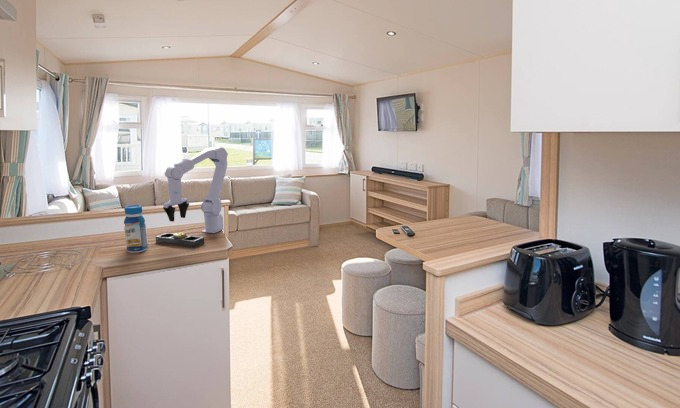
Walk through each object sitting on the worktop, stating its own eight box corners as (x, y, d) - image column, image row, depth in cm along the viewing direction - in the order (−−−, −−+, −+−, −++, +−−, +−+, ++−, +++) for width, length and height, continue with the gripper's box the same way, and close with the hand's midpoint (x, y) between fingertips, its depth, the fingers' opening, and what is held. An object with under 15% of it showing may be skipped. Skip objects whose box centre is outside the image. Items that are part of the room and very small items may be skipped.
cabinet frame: (166, 238, 190) (166, 232, 190) (204, 243, 183) (204, 237, 183) (156, 242, 184) (155, 236, 183) (194, 247, 177) (194, 241, 176)
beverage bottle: (151, 249, 174) (147, 205, 170) (133, 254, 167) (128, 209, 163) (141, 246, 178) (137, 203, 174) (122, 250, 171) (118, 206, 167)
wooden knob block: (180, 240, 186) (179, 231, 185) (186, 241, 184) (186, 232, 184) (173, 242, 182) (173, 233, 181) (180, 243, 181) (180, 234, 180)
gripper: (179, 188, 193) (181, 215, 196) (157, 193, 179) (159, 222, 182) (191, 189, 191) (192, 216, 193) (169, 194, 177) (171, 223, 180)
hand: (177, 219), depth 188 cm, fingers open, 7 cm apart
